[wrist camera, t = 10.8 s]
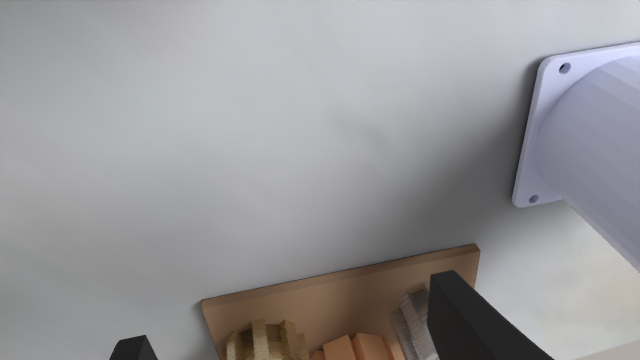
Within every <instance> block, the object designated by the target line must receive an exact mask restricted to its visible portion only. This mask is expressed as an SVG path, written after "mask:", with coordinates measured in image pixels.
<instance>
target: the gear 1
mask: <svg viewBox="0 0 640 360" xmlns="http://www.w3.org/2000/svg"><path fill="white" fill-rule="evenodd" d="M226 339H227V350H224V351H222V353H223V360H310V359H309V354H308V349H307V344H306V339H305V334H304V333H301V334H297V333H296V327H295V323H294V322H291V321H288V320H286V319H284V320H283V321H282V322H281V323H280V324H279V325H275V324H266V322H265V318H263V319H258V320H254V321H252V328H250V329H248V330H246V331H244V332H243V333H241V332H238V331H235V330H233V331H232V332H231V334H230V335H229V336H228V337H227V338H226Z"/></svg>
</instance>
